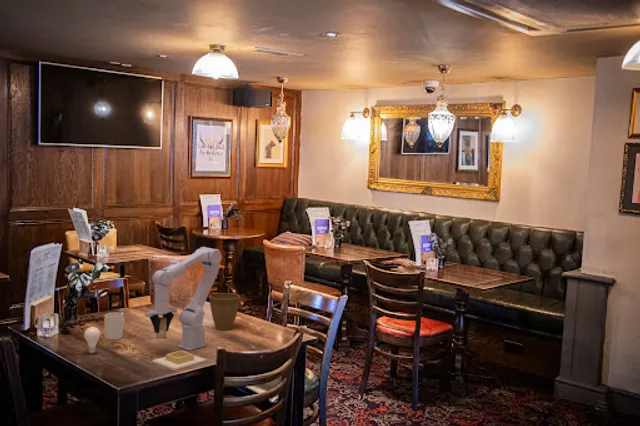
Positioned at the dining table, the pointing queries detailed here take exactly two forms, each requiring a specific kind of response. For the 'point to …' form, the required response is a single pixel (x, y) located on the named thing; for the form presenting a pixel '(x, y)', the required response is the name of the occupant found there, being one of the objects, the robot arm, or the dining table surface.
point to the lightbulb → (92, 338)
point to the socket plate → (179, 360)
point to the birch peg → (162, 329)
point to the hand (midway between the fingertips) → (161, 331)
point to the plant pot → (224, 309)
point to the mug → (114, 325)
